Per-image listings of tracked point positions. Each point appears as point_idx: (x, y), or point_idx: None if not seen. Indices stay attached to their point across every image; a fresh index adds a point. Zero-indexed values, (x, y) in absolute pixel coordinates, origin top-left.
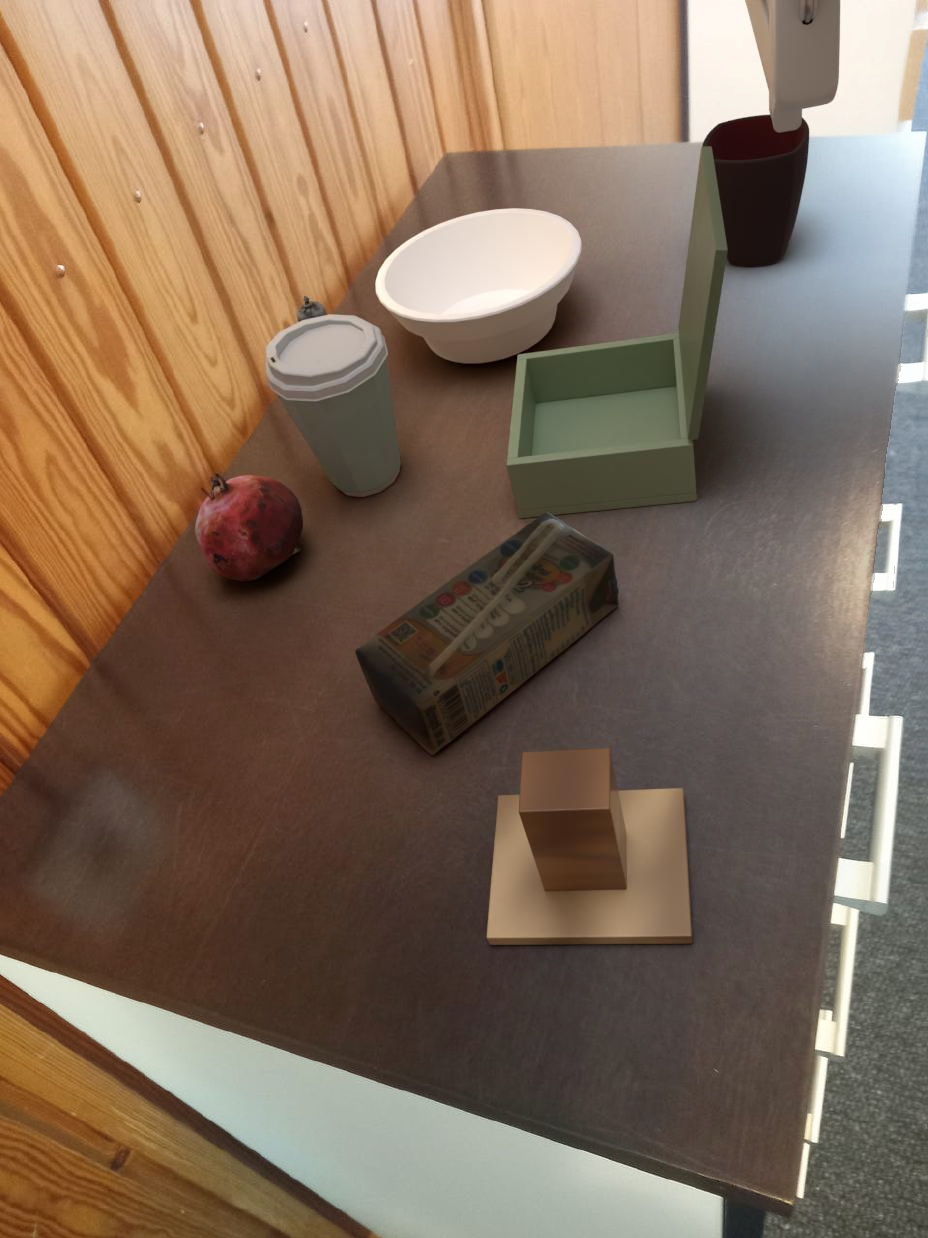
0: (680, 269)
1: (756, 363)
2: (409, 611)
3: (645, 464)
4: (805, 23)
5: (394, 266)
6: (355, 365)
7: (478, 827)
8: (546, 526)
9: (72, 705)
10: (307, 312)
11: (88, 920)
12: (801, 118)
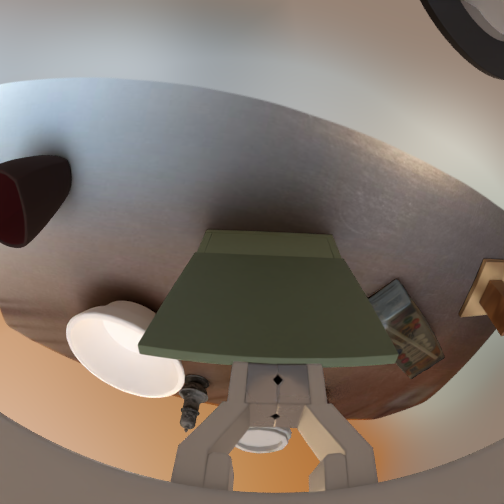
0: (73, 224)
1: (184, 180)
2: (403, 369)
3: None
4: (130, 473)
5: (126, 387)
6: (279, 432)
7: (461, 318)
8: None
9: (355, 417)
10: (192, 427)
11: (430, 392)
12: (322, 373)
